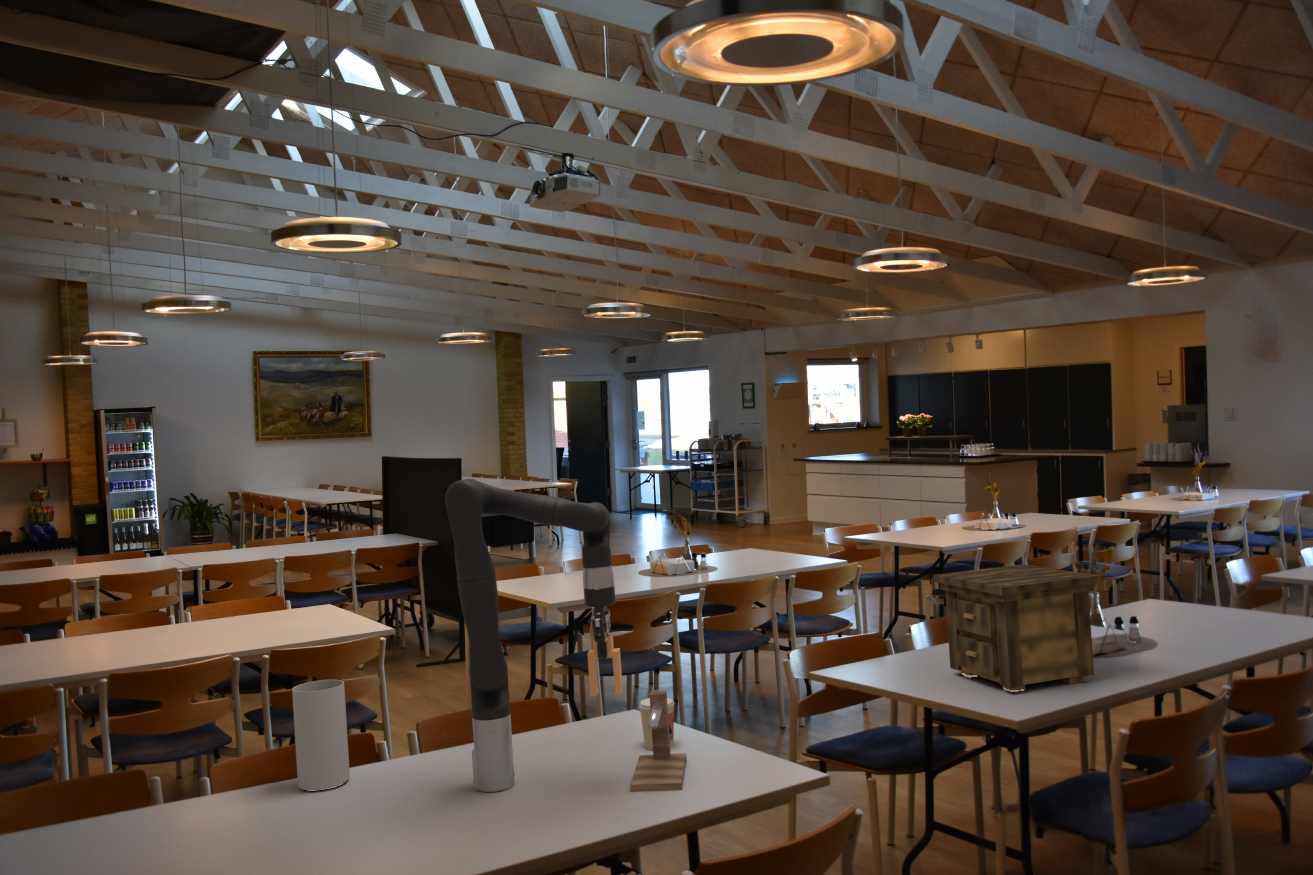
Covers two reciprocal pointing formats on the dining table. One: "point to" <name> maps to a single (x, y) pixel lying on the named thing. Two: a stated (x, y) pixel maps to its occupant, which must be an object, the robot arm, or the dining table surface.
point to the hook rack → (659, 753)
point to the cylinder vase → (320, 734)
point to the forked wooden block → (617, 670)
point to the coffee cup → (645, 718)
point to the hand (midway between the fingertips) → (604, 655)
